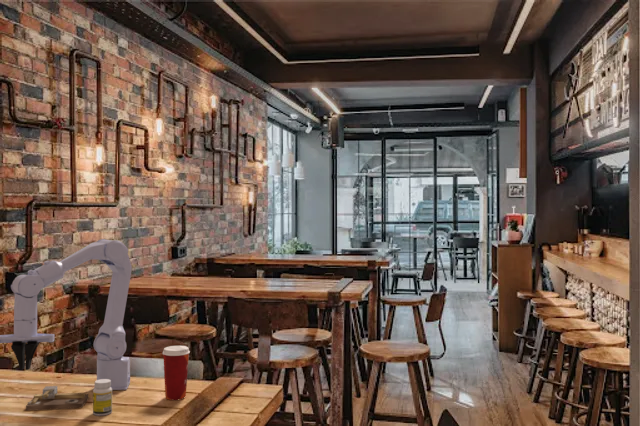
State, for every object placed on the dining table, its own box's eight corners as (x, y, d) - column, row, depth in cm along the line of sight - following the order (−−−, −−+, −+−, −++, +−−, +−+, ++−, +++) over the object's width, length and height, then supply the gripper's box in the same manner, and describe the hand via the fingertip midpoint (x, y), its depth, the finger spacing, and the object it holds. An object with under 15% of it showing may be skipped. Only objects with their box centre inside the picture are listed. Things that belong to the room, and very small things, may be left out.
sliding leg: (57, 395, 171) (57, 385, 171) (50, 402, 164) (50, 393, 164) (45, 395, 170) (45, 386, 170) (38, 403, 163) (38, 393, 163)
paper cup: (194, 397, 175) (195, 348, 175) (171, 403, 170) (172, 352, 170) (179, 391, 180) (179, 343, 181) (156, 397, 175) (156, 347, 175)
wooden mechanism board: (88, 398, 173) (88, 390, 173) (81, 407, 164) (82, 399, 164) (35, 400, 171) (35, 392, 171) (25, 410, 162) (25, 401, 162)
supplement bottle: (95, 410, 163) (96, 378, 163) (114, 410, 163) (114, 378, 163) (90, 416, 158) (90, 383, 158) (109, 416, 158) (109, 383, 158)
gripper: (-9, 322, 162) (-9, 373, 162) (50, 321, 165) (49, 371, 165) (0, 317, 169) (0, 367, 169) (56, 316, 172) (56, 365, 172)
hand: (25, 369), depth 168 cm, fingers closed
